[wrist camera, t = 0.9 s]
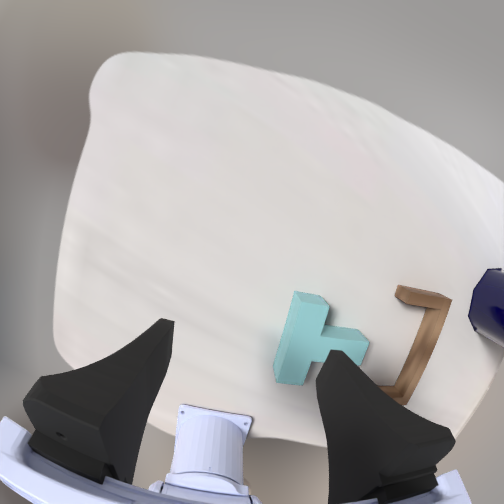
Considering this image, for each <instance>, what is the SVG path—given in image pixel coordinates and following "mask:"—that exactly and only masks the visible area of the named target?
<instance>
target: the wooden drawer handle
mask: <svg viewBox="0 0 504 504" xmlns="http://www.w3.org/2000/svg"><path fill="white" fill-rule="evenodd" d="M395 297H397V298H399V299H400V300H402V301H403V302H405V303H406V304H411V305H417V306H423V307H427V308H426V311H425V314H424V317H423V320H422V323H421V325H420V328H419V331H418V333H417V336H416V338H415V341H414V343H413V346H412V348H411V350H410V353H409V355H408V357H407V360H406V362H405V364H404V366H403V369H402V371H401V373H400V375H399V377H398V379H397V381H396V383H395V385H394V386H378V387H379V388H380V389H381V390H382V391H384V392H385V393H386V394H387V395H388V396H390V397H391V398H392V399H394V400H395V401H396V402H398V403H399V404H400V405H407V403H408V401H409V399H410V397H411V395H412V394H413V392H414V390H415V388H416V386H417V384H418V382H419V380H420V378H421V376H422V374H423V372H424V370H425V368H426V365H427V363H428V361H429V359H430V357H431V354H432V352H433V350H434V347H435V345H436V343H437V340H438V338H439V335H440V333H441V330H442V327H443V325H444V322H445V319H446V317H447V314H448V311H449V308H450V305H451V302H452V300H451V299H449V298H447V297H445V296H443V295H441V294H439V293H435V292H430V291H426V290H421V289H416V288H411V287H407V286H402V285H398V287H397V290H396V293H395Z"/></svg>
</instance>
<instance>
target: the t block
mask: <svg viewBox="0 0 504 504" xmlns="http://www.w3.org/2000/svg"><path fill="white" fill-rule="evenodd" d="M329 307H330V306H329V305H328V304H327V303H326V302H325V301H324V299H323V298H322V297H321V296H319V295H314V294H309V293H303V292H298V291H294V295H293V298H292V302H291V306H290V309H289V313H288V316H287V320H286V324H285V327H284V330H283V334H282V337H281V341H280V344H279V348H278V351H277V354H276V358H275V361H274V364H273V368H274V373H275V378H276V383H283V384H292V385H302V386H303V383H304V380H305V378H306V375H307V372H308V370H309V367H310V364H311V361H316V362H325V360H326V358H327V356H328V354H329V352H330V350H331V349H333V350H342V351H343V352H344V353H345V354H346V355H347V356H348V357H349V358H350V359H351V360H352V361H353V362H354V363H355V364H356V365H361V363H362V360H363V358H364V355H365V353H366V350H367V348H368V345H369V341H368V340H367V339H366V338H365V337H364V336H363V335H362V333H361V332H360V331H359V330H358V329H351V328H344V327H337V326H330V325H324V323H325V320H326V317H327V314H328V310H329Z"/></svg>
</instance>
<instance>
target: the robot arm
mask: <svg viewBox="0 0 504 504" xmlns="http://www.w3.org/2000/svg"><path fill="white" fill-rule="evenodd" d="M174 322H175V321H171V320H167V319H163V318H161V319H159V320H158V321H157V322H156V323H154V324H153V325H152V326H151V327H150V328H149V329H147V330H146V331H145V332H144V333H142V334H141V335H140V336H139V337H137V338H136V339H135V340H133V341H132V342H130V343H129V344H127V345H126V346H124V347H123V348H121V349H120V350H118V351H117V352H115V353H113V354H112V355H110V356H108V357H106V358H104V359H102V360H100V361H97V362H95V363H93V364H90V365H88V366H85V367H82V368H79V369H76V370H72V371H69V372H65V373H60V374H54V375H48V376H42V377H40V378H39V379H38V381H37V382H36V383H35V384H34V385H33V387H32V388H31V390H30V391H29V393H28V394H27V395H26V397H25V398H24V400H23V406H24V408H25V411H26V413H27V415H28V417H29V419H30V421H31V422H32V424H33V426H34V428H35V429H36V430H35V432H34V433H33V435H31V434H30V433H29V432H28V431H27V430H26V429H25V428H23V427H21V426H20V425H18V424H17V423H15V422H13V421H12V420H11V419H9V418H8V417H4V418H3V419H2V421H1V422H0V480H1V481H2V482H3V483H4V484H6V485H7V486H8V487H10V488H11V489H13V490H14V491H15V492H17V493H18V494H20V495H22V496H23V497H24V498H26V499H27V500H29V501H30V502H32V503H34V504H262V502H261V501H260V500H259V499H258V498H257V496H254V495H249V491H248V486H245V485H243V445H244V443H245V440H246V437H247V434H248V431H249V428H250V425H251V422H252V418H251V417H250V416H244V415H237V414H231V413H225V412H219V411H213V410H208V409H203V408H198V407H193V406H189V405H184V404H182V405H180V406H179V412H178V420H177V430H176V440H175V450H174V456H173V461H172V465H171V469H170V473H167V475H166V480H165V484H164V482H162V481H159V480H157V481H156V482H155V483H153V484H151V485H150V487H149V489H148V490H147V489H144V488H140V487H137V486H133V485H132V482H133V476H134V471H135V466H136V462H137V457H138V453H139V449H140V445H141V441H142V437H143V433H144V430H145V426H146V422H147V419H148V416H149V413H150V410H151V408H152V406H153V403H154V401H155V399H156V396H157V394H158V392H159V389H160V387H161V385H162V382H163V380H164V378H165V375H166V372H167V369H168V366H169V362H170V359H171V355H172V343H173V332H174ZM316 390H317V399H318V403H319V408H320V412H321V416H322V421H323V425H324V429H325V433H326V439H327V447H328V459H329V497H328V504H472V503H471V500H470V498H469V496H468V493H467V491H466V489H465V486H464V484H463V482H462V480H461V478H460V475H459V473H458V471H457V470H456V469H455V470H452V471H449V472H447V473H444V474H441V475H440V476H438V477H435V475H434V473H435V472H436V471H437V468H436V464H437V463H438V462H439V461H440V460H441V459H442V458H444V457H445V456H446V455H447V454H448V453H449V452H450V451H451V450H452V448H453V446H454V444H455V439H454V437H453V435H452V433H451V431H450V429H449V428H447V427H444V426H441V425H439V424H436V423H433V422H431V421H429V420H427V419H425V418H422V417H420V416H419V415H417V414H415V413H413V412H411V411H410V410H408V409H407V408H405V407H403V406H402V405H400V404H399V403H398V402H396V401H395V400H394V399H392V398H391V397H390V396H388V395H387V394H386V393H385V392H384V391H382V390H381V389H380V388H379V387H378V386H377V385H376V384H375V383H374V382H373V381H372V380H371V379H370V378H369V377H368V376H367V375H366V374H365V373H364V372H363V371H362V370H361V369H360V368H359V367H358V366H357V365H356V364H355V363H354V362H353V361H352V360H351V359H350V358H349V357H348V356H347V355H346V354H345V353H344V352H343V351H342V350H333V349H331V350H330V352H329V354H328V356H327V358H326V360H325V362H324V364H323V366H322V368H321V370H320V372H319V374H318V376H317V378H316ZM182 411H184V412H182ZM246 422H247V423H246Z"/></svg>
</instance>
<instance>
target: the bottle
mask: <svg viewBox="0 0 504 504" xmlns="http://www.w3.org/2000/svg"><path fill="white" fill-rule="evenodd" d="M468 317H469V319H470V322H471V324H472V326H473V328H474V331H477V332H478V333H480V334H482V335H483V336H485V337H487V338H488V339H490V340H492V341H493V342H495V343H497V344H498V345H500V346H501V347H503V348H504V270H502V269H501V268H496V269H487V271H486V272H485V274H484V275H483V277H482V278H481V280H480V281H479V282H478V284H477V285H476V287H475V288H474V290H473V295H472V300H471V305H470V310H469V314H468Z"/></svg>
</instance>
